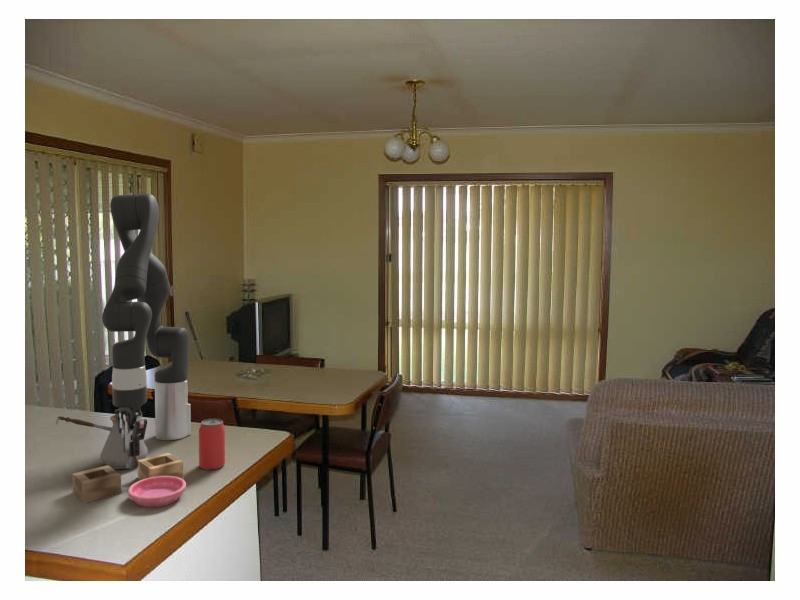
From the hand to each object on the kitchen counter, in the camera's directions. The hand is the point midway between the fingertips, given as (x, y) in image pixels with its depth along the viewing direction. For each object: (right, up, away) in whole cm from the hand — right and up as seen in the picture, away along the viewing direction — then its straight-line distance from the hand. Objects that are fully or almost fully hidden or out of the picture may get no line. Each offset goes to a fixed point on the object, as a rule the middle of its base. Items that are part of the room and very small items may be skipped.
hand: (131, 453), depth 146 cm
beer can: (+15, -7, +14) cm, 22 cm away
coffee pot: (-12, -7, +11) cm, 18 cm away
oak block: (+5, -7, +5) cm, 10 cm away
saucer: (+9, -9, -7) cm, 14 cm away
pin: (0, -3, 0) cm, 3 cm away
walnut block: (-6, -8, -5) cm, 11 cm away
